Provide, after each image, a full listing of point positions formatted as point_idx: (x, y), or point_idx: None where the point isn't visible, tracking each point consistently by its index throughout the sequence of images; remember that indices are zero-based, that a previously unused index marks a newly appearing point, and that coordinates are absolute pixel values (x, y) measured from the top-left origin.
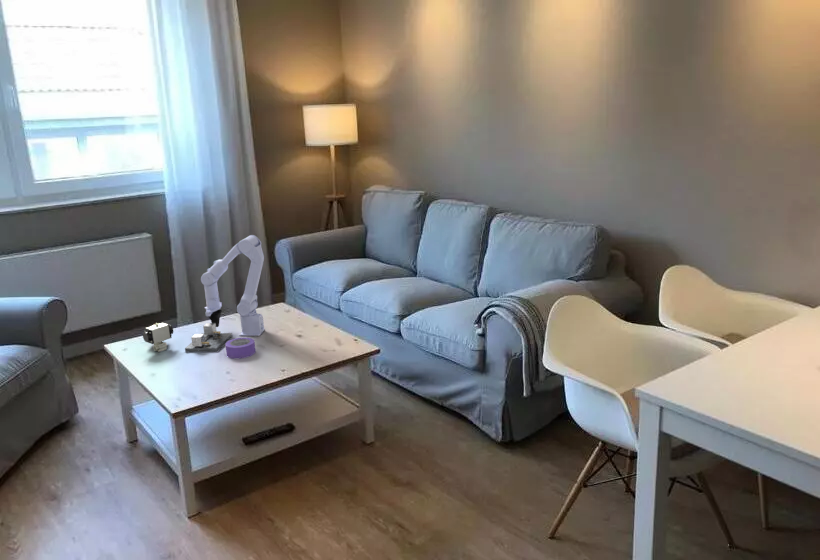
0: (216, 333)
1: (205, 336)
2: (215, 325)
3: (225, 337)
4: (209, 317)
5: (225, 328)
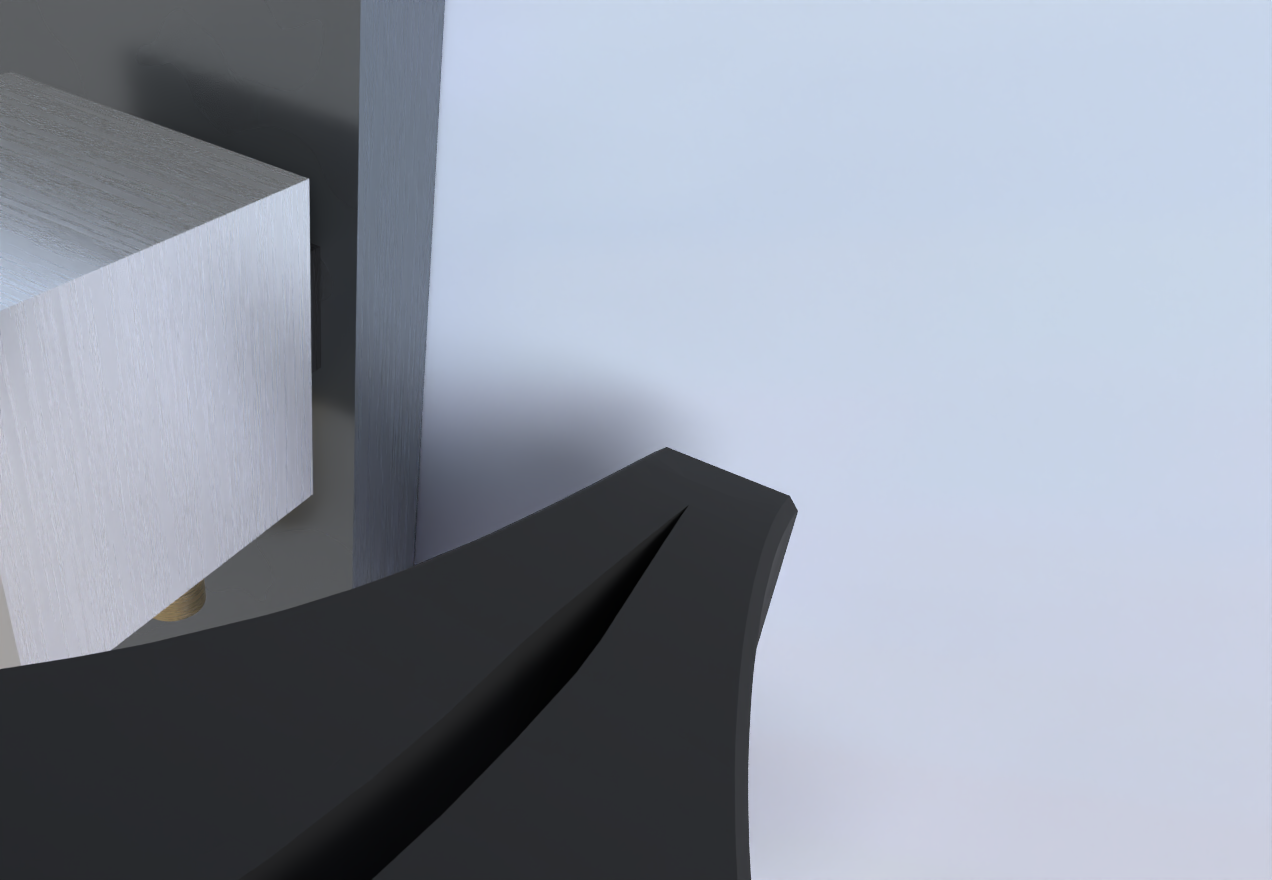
0: (341, 452)
1: (84, 89)
2: (98, 633)
3: None
4: (101, 681)
5: (1229, 733)
